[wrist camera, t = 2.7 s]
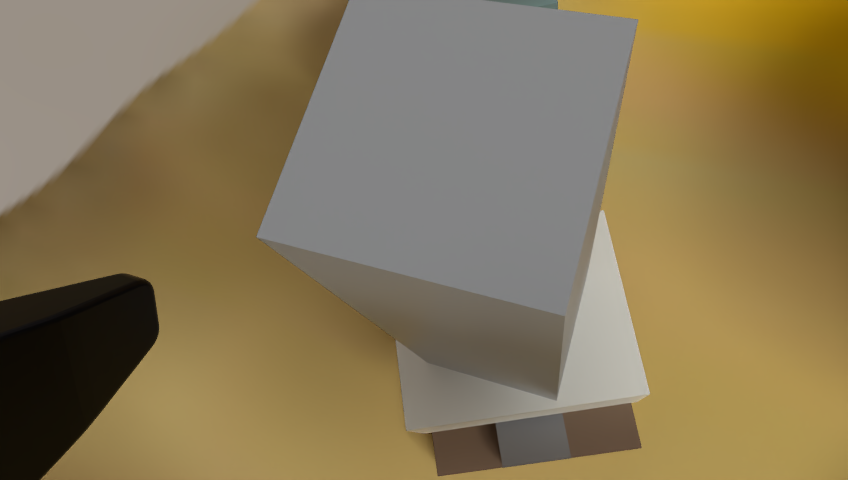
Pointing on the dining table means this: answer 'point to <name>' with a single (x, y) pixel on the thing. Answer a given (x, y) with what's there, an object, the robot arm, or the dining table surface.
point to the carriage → (469, 203)
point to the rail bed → (536, 423)
